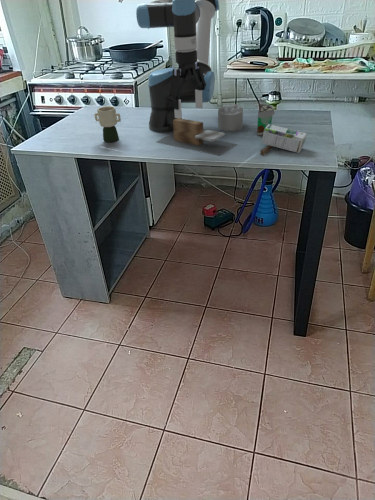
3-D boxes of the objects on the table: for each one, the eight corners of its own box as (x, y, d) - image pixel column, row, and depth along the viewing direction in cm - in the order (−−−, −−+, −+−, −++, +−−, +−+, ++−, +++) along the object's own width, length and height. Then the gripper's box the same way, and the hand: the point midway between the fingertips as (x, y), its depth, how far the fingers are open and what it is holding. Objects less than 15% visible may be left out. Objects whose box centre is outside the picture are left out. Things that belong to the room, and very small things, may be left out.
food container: (272, 138, 150) (274, 112, 145) (256, 138, 152) (258, 112, 146) (273, 128, 160) (275, 103, 154) (258, 128, 161) (259, 103, 156)
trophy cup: (127, 138, 159) (122, 106, 151) (120, 144, 153) (115, 111, 146) (102, 137, 161) (97, 105, 154) (95, 143, 156) (89, 110, 148)
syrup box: (268, 123, 141) (307, 132, 137) (265, 138, 145) (303, 147, 141) (263, 128, 137) (304, 138, 133) (260, 144, 141) (299, 153, 137)
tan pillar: (170, 142, 151) (168, 121, 146) (182, 136, 156) (181, 116, 152) (213, 151, 141) (213, 129, 136) (224, 144, 146) (224, 123, 142)
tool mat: (155, 143, 152) (155, 142, 152) (174, 133, 161) (174, 132, 161) (219, 156, 138) (219, 155, 137) (237, 145, 146) (237, 144, 146)
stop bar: (260, 154, 137) (260, 150, 136) (274, 144, 145) (274, 140, 144) (263, 155, 137) (263, 151, 136) (277, 144, 144) (277, 140, 144)
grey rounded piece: (243, 122, 169) (243, 102, 164) (241, 132, 158) (242, 111, 153) (219, 122, 170) (219, 102, 165) (216, 132, 160) (216, 111, 155)
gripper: (172, 57, 122) (177, 124, 134) (214, 44, 138) (215, 105, 150) (154, 56, 125) (160, 121, 138) (197, 43, 141) (199, 102, 154)
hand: (189, 112), depth 144 cm, fingers open, 13 cm apart
